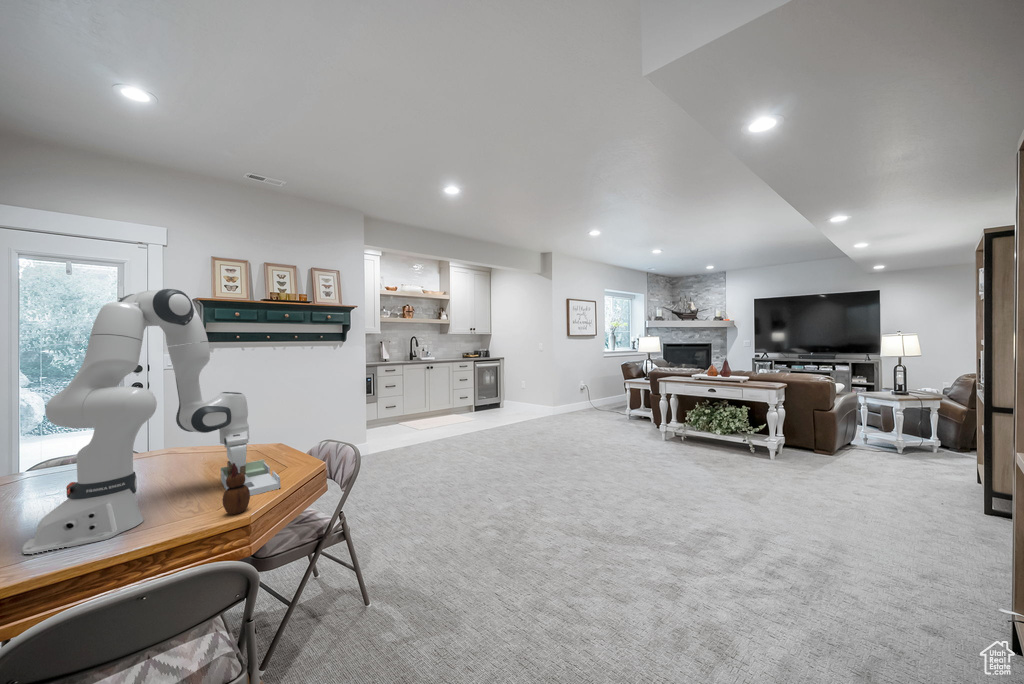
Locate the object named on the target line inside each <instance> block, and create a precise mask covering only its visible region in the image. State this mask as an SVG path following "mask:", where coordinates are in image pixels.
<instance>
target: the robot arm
mask: <svg viewBox="0 0 1024 684" xmlns="http://www.w3.org/2000/svg"><path fill="white" fill-rule="evenodd" d="M147 327H159V328H160V329H161V330H162V331H163V332H164V334H165V335H164V336H165V340H166V347H167V351H168V354H169V359H170V363H171V365H172V368H173V372H174V377H175V383H176V384H175V385H176V388H177V397H178V409H177V412H176V415H175V422H176V424H177V426H178V427H179V428H180V429H181V430H183V431H185V432H189V433H191V432H193V433H194V432H195V433H201V434H202V433H203V434H206V433H207V434H208V433H211V432H214V431H217V430H218V431H219V443H220V444H221V445H224V448H226V457H227V460H228V461H230V462H231V464H233V463H235V466H236V467H237V468H238V473H240V467H241V466H245V464H246V463H247V447H248V446H247V444H248V443H249V440H250V428H249V427H250V425H249V423H248V416H249V409H248V402H247V397H246V395H245V394H244V393H242V392H237V391H234V392H233V391H231V392H230V391H222V392H220V393H218V395H217V396H215V397H214V398H212V399H210V400H208V401H206V402H204V401H203V397H202V392H201V385H200V374H201V372H202V370H203V369H204V367H206V366H207V365H208V363H209V362H210V361H211V360H210V359H211V350H210V349H211V348H210V342H209V340H208V335H207V332H206V328H205V326H204V323H203V321H202V320H201V317H200V316H199V315H198V314H197V313H196V312H195V310H194V305H193V302H192V300H191V299H190V297H189V296H188V295H187V294H186V293H185V292H184V291H182V290H179V289H174V288H172V289H171V288H164V289H163V288H162V289H155V290H144V291H140V292H137V293H130V294H128V295H125V296H123V297H122V298H120V299H119V300H118V301H114V302H113V301H112V302H109V303H106V304H104V305H103V306H102V307H101V308H100V310H99V311H98V314H97V315H96V317H95V321H94V322H93V325H92V329H91V332H90V335H89V340H88V343H87V347H86V352H85V355H84V359H83V361H82V365H81V367H80V368H79V370H78V372H77V373H76V374H75V376H74V377H73V378H72V380H71V381H70V382H69V384H68V385H67V386H66V387H65V388H64V389H63V390H61V391H60V392H58V393H56V394H55V395H54V396H51V398H50V399H49V401H48V402H47V404H46V406H45V416H46V419H47V420H48V421H49V422H50V424H53V425H55V426H56V427H57V426H59V427H63V428H68V429H74V430H75V429H94V430H93V434H92V438H91V440H90V441H89V443H88V444H86V445H85V446H83V447H82V448H80V449H79V450H78V452H77V454H76V456H75V457H76V460H75V461H76V477H77V481H72V482H70V483H68V484H67V486H66V488H65V489H66V499H65V501H62V502H61V503H60V504H59V505H57V506H55V508H54V509H52V510H51V511H50V512H49V513H47V514H46V515H45V516H44V517H42V519H41V520H40V521H39V523H38V525H37V527H36V529H35V536H34V537H32V538H30V539H29V540H27V541H26V542H25V543H24V544H23V545H22V549H21V550H22V551H23V553H26V554H32V555H34V554H33V553H37V552H42V553H44V552H43V551H47V552H49V551H48V550H52V549H57V550H60V549H59V548H62V549H65V548H64V547H67V548H70V547H76V546H81V545H85V544H89V543H90V544H91V543H94V542H95V543H96V542H99V541H106V540H109V539H111V538H113V537H115V536H116V535H118V534H121V533H123V532H125V531H128V530H131V529H133V528H135V527H137V526H138V525H141V523H143V522H144V520H145V519H144V517H143V515H142V513H141V509H140V507H139V504H138V503H139V502H138V500H137V494H136V492H137V489H138V484H137V483H138V482H137V473H136V472H135V470H134V445H135V442H136V441H135V440H136V438H137V436H138V433H139V431H140V430H141V428H142V427H143V425H144V424H145V423H146V422H147V421H148V420H150V419H151V418H152V417H153V415H154V414H155V412H156V410H157V403H158V402H157V399H156V398H157V397H156V396H155V395H154V393H153V391H151V390H149V389H148V388H143V387H137V386H129V385H128V386H127V385H126V386H124V385H123V386H121V385H120V383H121V382H122V381H123V379H124V378H125V377H126V376H128V375H130V374H131V373H133V372H134V371H136V369H137V368H138V366H139V363H140V356H141V352H142V345H143V340H144V332H145V330H146V328H147ZM119 385H120V386H119ZM22 551H21V552H22ZM52 551H53V550H52ZM23 553H22V554H23ZM37 554H38V553H37Z"/></svg>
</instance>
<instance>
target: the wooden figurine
mask: <svg viewBox="0 0 1024 684" xmlns="http://www.w3.org/2000/svg"><path fill="white" fill-rule="evenodd" d="M244 483H245V475H244V474H243V473H238V468H237V467H236V466H235V463H233V464H232V474H231V475H229V476H228V477H227V479H226V485H227V487H228V489H227V490H226V489H225V491H224V493H223V495H222V506H223V509H224V511H225V512H226V514H228V515H238V514H241V513H243V512H244V511H246V510H247V509H248V507H249V503H250V500H251V499H250V498H251V496H250V491H249V488H248V487H247V486H246V485H243V484H244Z"/></svg>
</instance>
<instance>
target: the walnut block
mask: <svg viewBox="0 0 1024 684" xmlns="http://www.w3.org/2000/svg"><path fill="white" fill-rule="evenodd" d="M226 463H227V466H226V467H227V468H228V476H229V475H231V474H232V464H231V462H230V461H229V460H227V461H226ZM240 473H243V474H244V475H245V474H246V468H245V466H241V467H240Z"/></svg>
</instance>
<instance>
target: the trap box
mask: <svg viewBox="0 0 1024 684" xmlns="http://www.w3.org/2000/svg"><path fill="white" fill-rule="evenodd" d="M245 468H246V474H245V483H244V484H243V485H246V486H247V487H248V488H249V491H250V497H251V496H255V495H259V494H264V493H268V492H267V491H269V492H272V491H271V490H273V491H276V490H275V489H277V490H280V489H279V488H281V476H280V475H278V473H276V471H274V470H272V472H271V467H270V466H269V464H268V463H266V462H265V459H259V460H255V461H249V462H246V464H245ZM271 473H272V475H271ZM227 477H228V468H227V466H223V467H220V479H221V480H220V482H221V484H222V486H223V487H224V489H225V491H226V490H227V489H228V487H227V485H226V479H227Z"/></svg>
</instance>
